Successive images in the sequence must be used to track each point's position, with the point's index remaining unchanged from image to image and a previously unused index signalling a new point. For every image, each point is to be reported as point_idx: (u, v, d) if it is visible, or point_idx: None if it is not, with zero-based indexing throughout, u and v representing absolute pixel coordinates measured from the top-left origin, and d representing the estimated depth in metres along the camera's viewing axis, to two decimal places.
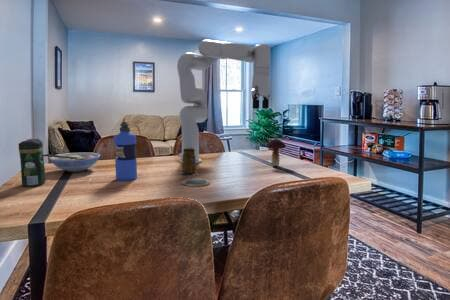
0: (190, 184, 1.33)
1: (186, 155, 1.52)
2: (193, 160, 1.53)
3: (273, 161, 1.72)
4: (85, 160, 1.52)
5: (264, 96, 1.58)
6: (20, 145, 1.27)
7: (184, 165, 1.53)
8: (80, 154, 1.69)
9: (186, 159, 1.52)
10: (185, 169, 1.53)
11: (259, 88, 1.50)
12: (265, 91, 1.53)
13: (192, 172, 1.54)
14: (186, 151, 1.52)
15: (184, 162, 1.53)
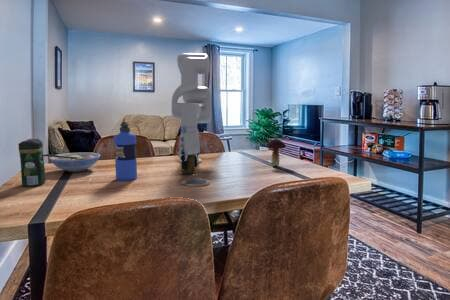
0: (190, 184, 1.33)
1: None
2: (192, 160, 1.53)
3: (273, 161, 1.72)
4: (85, 160, 1.52)
5: None
6: (20, 145, 1.27)
7: None
8: (80, 154, 1.69)
9: None
10: (184, 170, 1.53)
11: None
12: None
13: (191, 172, 1.53)
14: None
15: None
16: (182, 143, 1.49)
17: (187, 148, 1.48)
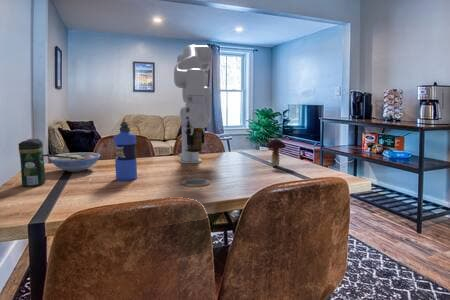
0: (190, 184, 1.33)
1: None
2: (199, 135, 1.33)
3: (273, 161, 1.72)
4: (85, 160, 1.52)
5: (191, 129, 1.32)
6: (20, 145, 1.27)
7: None
8: (80, 154, 1.69)
9: None
10: (190, 146, 1.33)
11: None
12: None
13: (198, 148, 1.34)
14: None
15: None
16: (188, 114, 1.29)
17: (193, 120, 1.29)
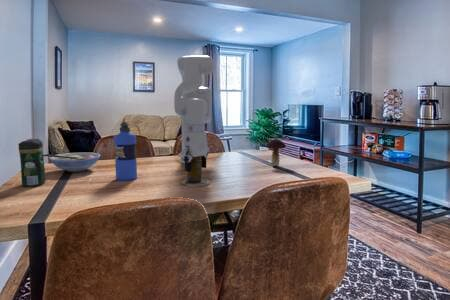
0: (190, 184, 1.33)
1: (191, 160, 1.34)
2: (199, 166, 1.35)
3: (273, 161, 1.72)
4: (85, 160, 1.52)
5: None
6: (20, 145, 1.27)
7: (189, 172, 1.35)
8: (80, 154, 1.69)
9: (192, 165, 1.34)
10: (190, 177, 1.35)
11: None
12: None
13: (198, 180, 1.36)
14: None
15: None
16: (188, 143, 1.31)
17: (193, 149, 1.30)
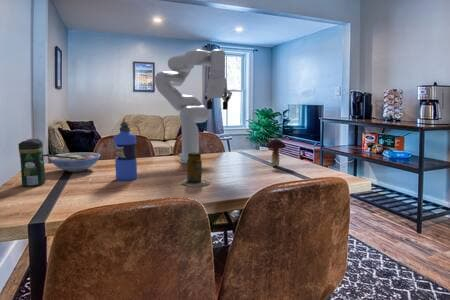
0: (190, 184, 1.33)
1: (191, 160, 1.34)
2: (199, 166, 1.35)
3: (273, 161, 1.72)
4: (85, 160, 1.52)
5: (211, 97, 1.68)
6: (20, 145, 1.27)
7: (189, 172, 1.35)
8: (80, 154, 1.69)
9: (192, 165, 1.34)
10: (190, 177, 1.35)
11: None
12: None
13: (198, 180, 1.36)
14: (191, 156, 1.34)
15: (189, 168, 1.35)
16: None
17: (207, 91, 1.66)
